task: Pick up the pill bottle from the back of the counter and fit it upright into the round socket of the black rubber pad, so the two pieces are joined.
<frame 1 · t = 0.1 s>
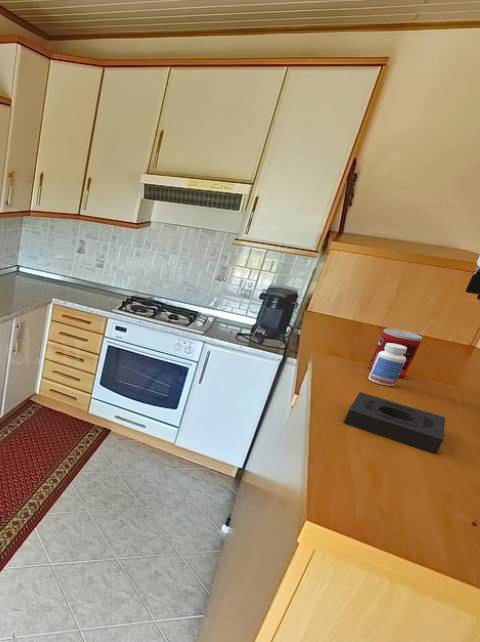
canned food: (385, 372, 129), on the worktop
pill bottle: (380, 383, 121), on the worktop
socket pad: (391, 426, 97), on the worktop
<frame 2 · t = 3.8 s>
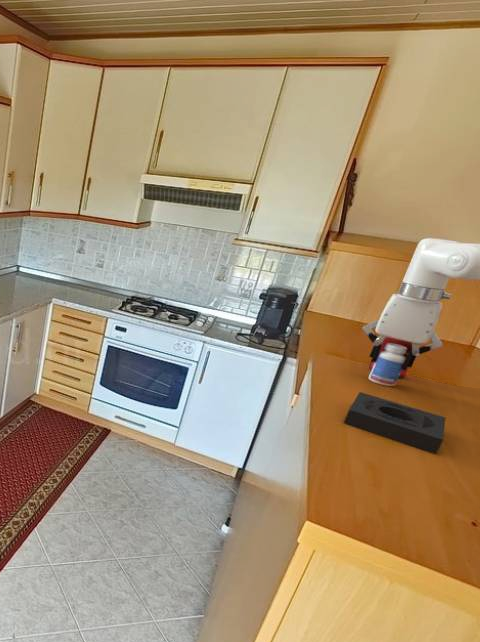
hand: (388, 364, 120), 5 cm above the worktop, tool pointing down, fingers closed on pill bottle, 5 cm apart
pill bottle: (380, 382, 121), on the worktop, touching gripper
everything else where it was.
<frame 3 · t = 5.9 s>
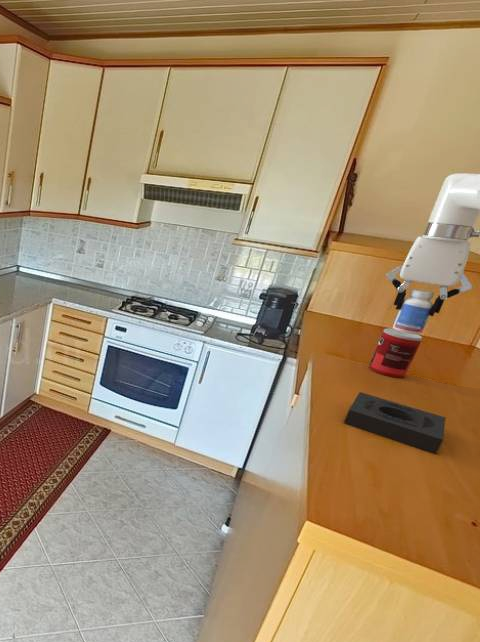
hand: (414, 311, 114), 19 cm above the worktop, tool pointing down, fingers closed on pill bottle, 5 cm apart
pill bottle: (406, 332, 116), point 14 cm above the worktop, touching gripper
everything else where it was.
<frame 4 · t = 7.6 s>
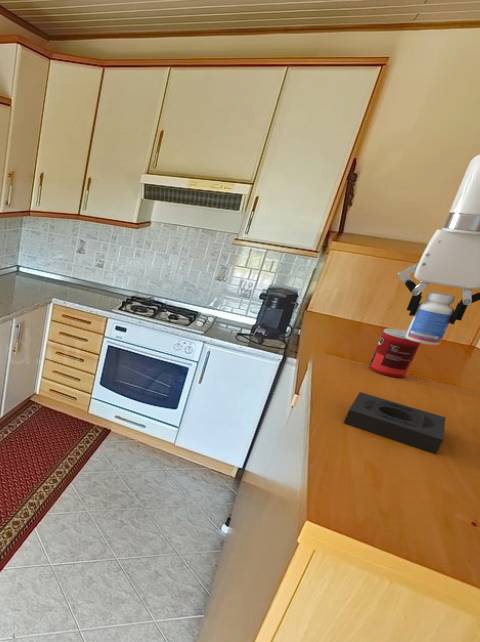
hand: (431, 318, 96), 21 cm above the worktop, tool pointing down, fingers closed on pill bottle, 5 cm apart
pill bottle: (421, 342, 98), point 16 cm above the worktop, touching gripper
everything else where it was.
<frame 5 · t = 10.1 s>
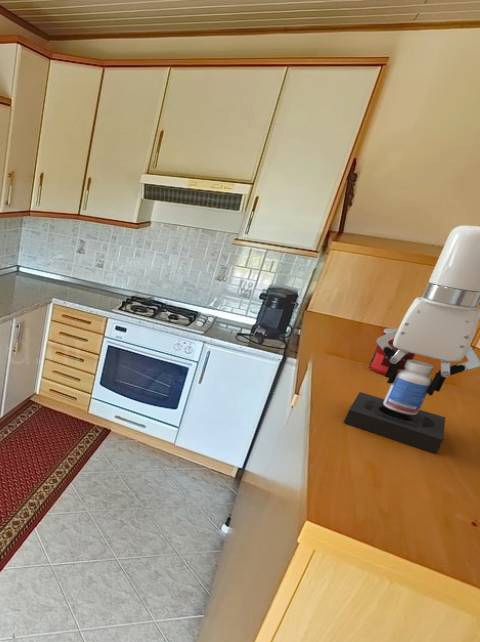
hand: (409, 386, 94), 9 cm above the worktop, tool pointing down, fingers closed on pill bottle, 5 cm apart
pill bottle: (399, 409, 96), point 4 cm above the worktop, touching gripper
everything else where it was.
when the fingers open (5 cm above the worktop, at t = 11.7 s): pill bottle stays where it is, resting in socket pad.
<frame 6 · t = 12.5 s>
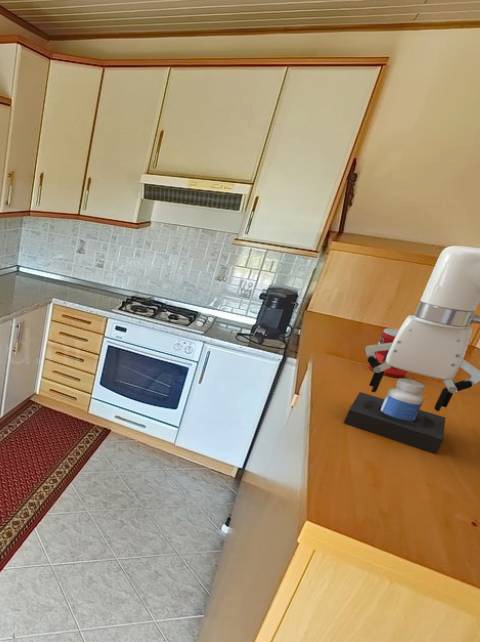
hand: (404, 399, 95), 6 cm above the worktop, tool pointing down, fingers open, 9 cm apart
pill bottle: (391, 427, 97), resting in socket pad
everything else where it was.
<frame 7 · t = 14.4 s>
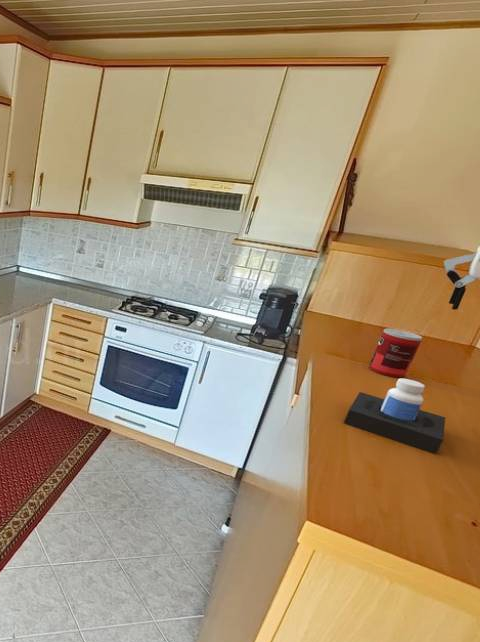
nothing on the worktop moved.
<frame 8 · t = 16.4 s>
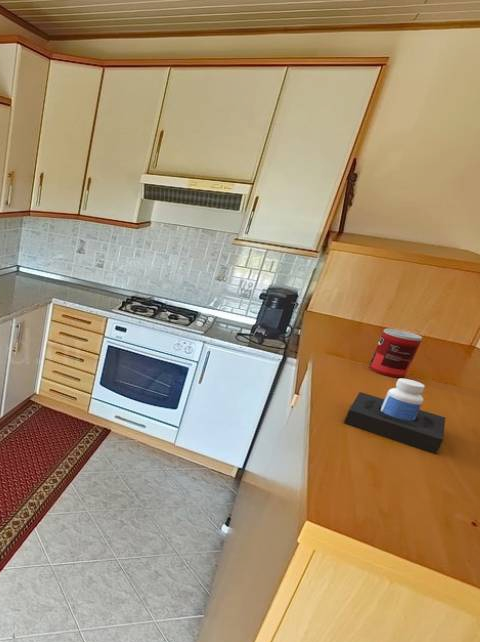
nothing on the worktop moved.
at the end: pill bottle 0.0 cm off-centre in the socket pad, point 0.0 cm above the socket pad's base; pill bottle tilted 0°; the gripper is holding nothing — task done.
